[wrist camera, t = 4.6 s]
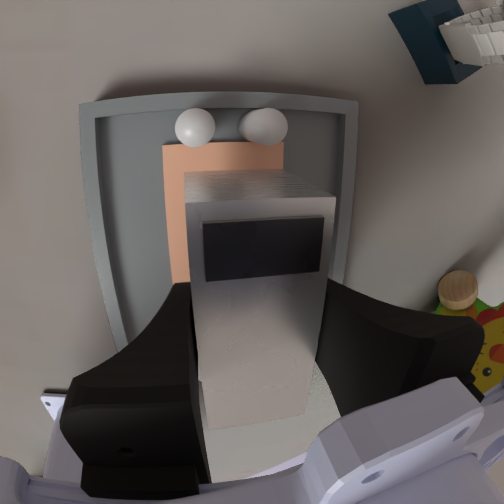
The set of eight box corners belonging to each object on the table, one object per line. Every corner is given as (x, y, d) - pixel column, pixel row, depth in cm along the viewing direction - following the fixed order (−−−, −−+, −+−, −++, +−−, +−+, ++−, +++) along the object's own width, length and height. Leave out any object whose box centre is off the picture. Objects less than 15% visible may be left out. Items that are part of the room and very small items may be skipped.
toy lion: (353, 384, 26) (434, 513, 13) (335, 353, 24) (432, 508, 10) (476, 287, 26) (580, 371, 12) (473, 247, 24) (598, 332, 10)
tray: (320, 333, 23) (344, 370, 19) (127, 354, 20) (121, 398, 16) (341, 102, 16) (382, 100, 13) (90, 105, 14) (63, 101, 10)
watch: (468, 58, 17) (584, 63, 7) (410, 94, 17) (554, 105, 7) (437, -5, 14) (551, -26, 4) (369, 20, 15) (509, -20, 5)
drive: (273, 343, 16) (305, 417, 12) (198, 351, 16) (209, 433, 11) (282, 168, 13) (339, 198, 8) (184, 172, 12) (184, 205, 7)
